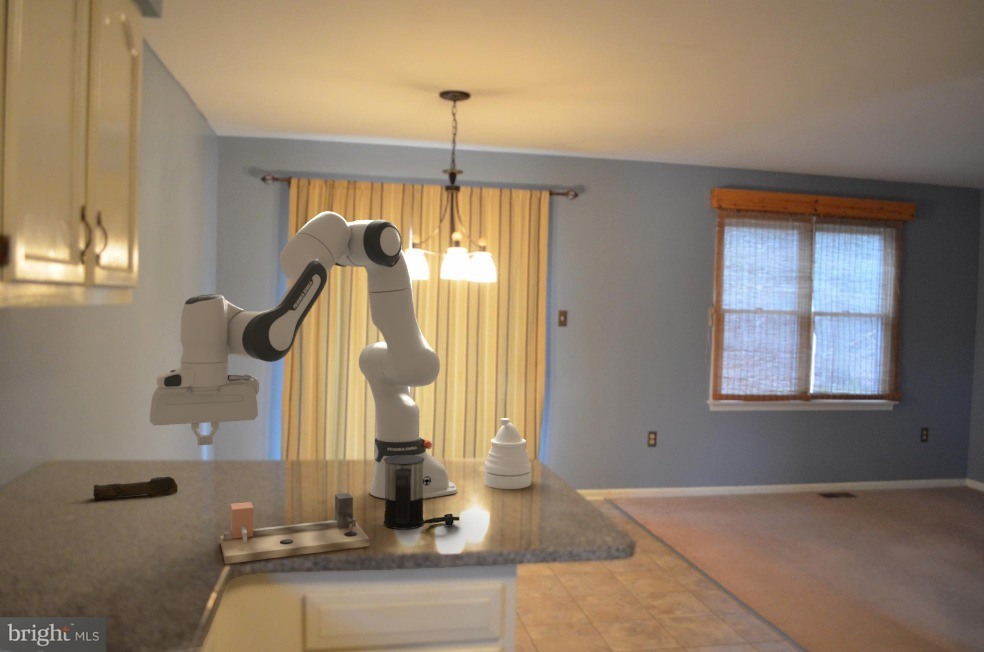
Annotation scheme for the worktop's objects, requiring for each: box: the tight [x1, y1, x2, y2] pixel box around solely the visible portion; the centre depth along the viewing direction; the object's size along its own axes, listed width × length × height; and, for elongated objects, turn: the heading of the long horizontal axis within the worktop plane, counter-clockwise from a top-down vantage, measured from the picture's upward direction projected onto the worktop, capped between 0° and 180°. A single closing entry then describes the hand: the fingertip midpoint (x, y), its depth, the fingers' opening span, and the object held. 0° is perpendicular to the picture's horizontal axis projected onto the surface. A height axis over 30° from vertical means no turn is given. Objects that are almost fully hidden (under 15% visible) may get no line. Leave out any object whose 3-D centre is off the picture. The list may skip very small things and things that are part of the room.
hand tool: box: [93, 476, 178, 501], centre depth 189 cm, size 19×4×5 cm, turn 108°
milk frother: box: [383, 455, 460, 530], centre depth 169 cm, size 14×16×15 cm
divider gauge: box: [219, 492, 370, 565], centre depth 155 cm, size 28×13×8 cm, turn 114°
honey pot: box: [483, 417, 532, 490], centre depth 207 cm, size 13×13×18 cm
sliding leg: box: [230, 501, 254, 544], centre depth 152 cm, size 4×9×6 cm, turn 24°
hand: (205, 444), depth 151 cm, fingers closed
